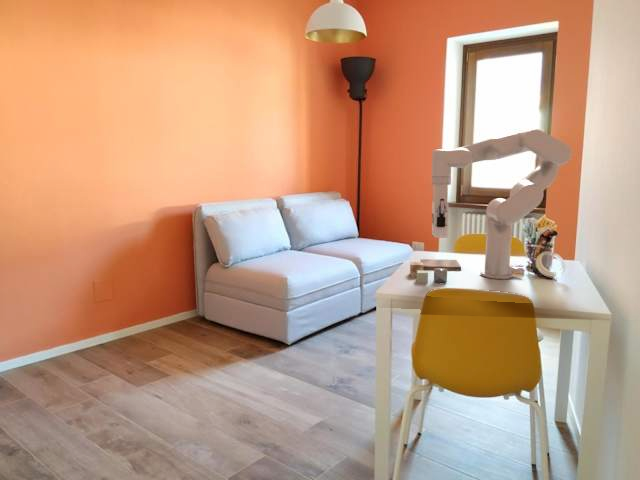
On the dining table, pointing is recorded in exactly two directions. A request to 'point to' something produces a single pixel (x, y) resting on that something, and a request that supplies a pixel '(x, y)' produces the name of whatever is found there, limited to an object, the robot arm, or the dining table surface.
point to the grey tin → (440, 275)
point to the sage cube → (422, 276)
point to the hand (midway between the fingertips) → (439, 225)
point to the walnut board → (440, 264)
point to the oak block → (415, 268)
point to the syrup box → (436, 231)
